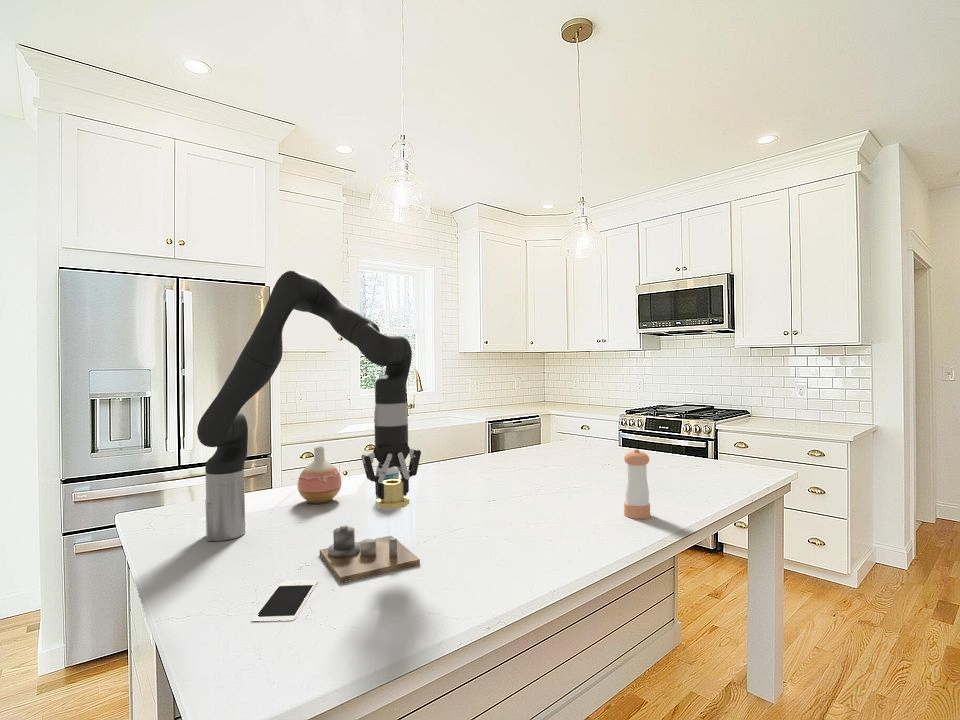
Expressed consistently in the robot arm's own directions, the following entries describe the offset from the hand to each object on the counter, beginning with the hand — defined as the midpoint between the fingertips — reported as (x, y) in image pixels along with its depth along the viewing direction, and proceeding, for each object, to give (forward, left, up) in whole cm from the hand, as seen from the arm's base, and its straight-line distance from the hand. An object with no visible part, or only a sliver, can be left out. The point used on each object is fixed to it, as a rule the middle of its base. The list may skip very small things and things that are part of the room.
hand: (392, 496), depth 119 cm
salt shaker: (+73, -6, -15) cm, 74 cm away
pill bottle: (+17, +48, -15) cm, 53 cm away
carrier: (-4, +4, -15) cm, 16 cm away
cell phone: (-24, -7, -16) cm, 30 cm away
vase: (-2, +59, -15) cm, 61 cm away
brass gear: (0, 0, -2) cm, 2 cm away
